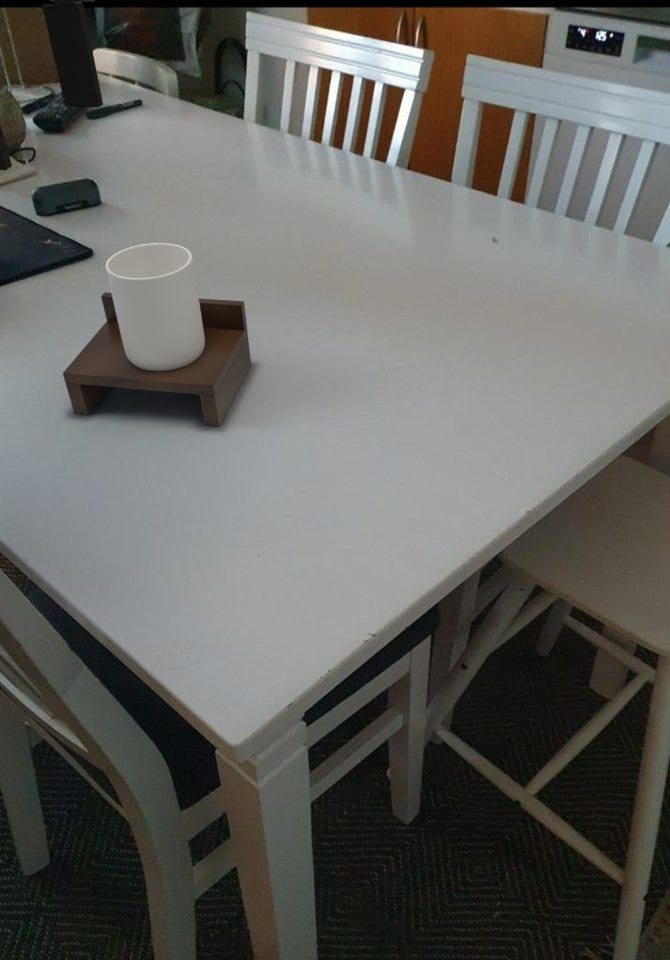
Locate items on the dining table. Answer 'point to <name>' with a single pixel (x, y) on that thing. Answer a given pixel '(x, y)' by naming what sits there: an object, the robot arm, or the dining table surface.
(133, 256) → the cup
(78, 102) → the robot arm
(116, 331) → the shelf
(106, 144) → the dining table surface
